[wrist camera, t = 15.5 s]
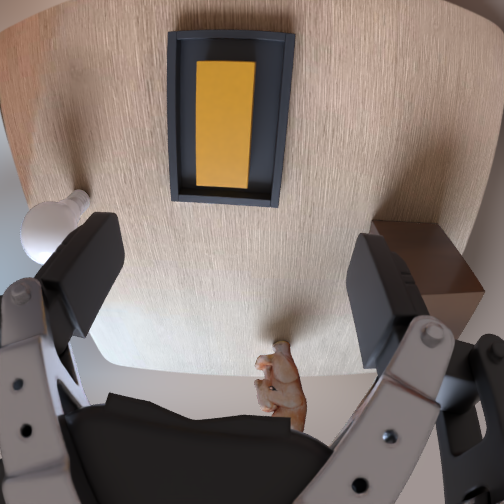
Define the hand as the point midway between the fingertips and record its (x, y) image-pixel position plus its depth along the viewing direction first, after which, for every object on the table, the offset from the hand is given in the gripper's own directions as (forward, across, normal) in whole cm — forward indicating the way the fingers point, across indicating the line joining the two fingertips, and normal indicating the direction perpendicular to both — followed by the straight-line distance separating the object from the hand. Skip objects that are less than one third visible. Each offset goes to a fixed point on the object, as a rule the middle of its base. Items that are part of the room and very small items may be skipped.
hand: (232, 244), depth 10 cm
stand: (+21, -18, +14) cm, 31 cm away
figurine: (+21, -6, +34) cm, 40 cm away
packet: (+20, +3, 0) cm, 20 cm away
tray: (+21, +3, 0) cm, 21 cm away
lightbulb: (+21, +20, +9) cm, 30 cm away
